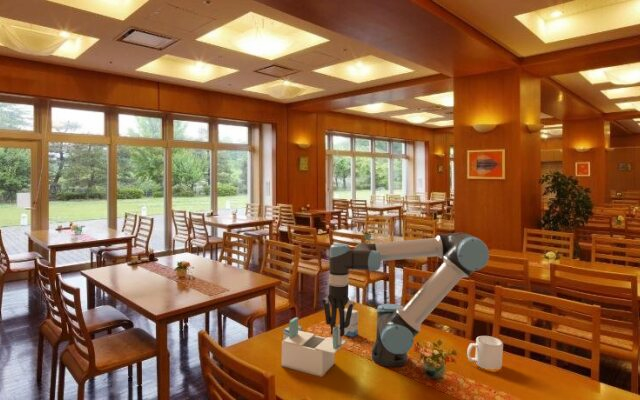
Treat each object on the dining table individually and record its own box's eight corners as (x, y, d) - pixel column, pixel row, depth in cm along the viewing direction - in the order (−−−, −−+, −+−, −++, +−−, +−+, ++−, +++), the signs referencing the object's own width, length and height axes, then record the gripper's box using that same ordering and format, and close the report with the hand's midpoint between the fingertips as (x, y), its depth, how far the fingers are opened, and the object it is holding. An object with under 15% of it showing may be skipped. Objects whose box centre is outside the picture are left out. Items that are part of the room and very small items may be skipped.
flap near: (346, 342, 160) (346, 323, 159) (334, 354, 149) (334, 334, 148) (327, 338, 163) (328, 320, 163) (314, 349, 152) (315, 330, 152)
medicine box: (294, 342, 182) (295, 323, 182) (302, 345, 179) (302, 326, 179) (282, 347, 176) (283, 328, 175) (290, 350, 173) (290, 331, 173)
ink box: (358, 334, 193) (359, 310, 192) (353, 337, 189) (354, 313, 188) (343, 330, 197) (343, 306, 197) (338, 333, 193) (338, 309, 192)
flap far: (314, 335, 166) (315, 317, 165) (301, 346, 155) (301, 327, 154) (297, 331, 169) (297, 314, 169) (283, 342, 158) (283, 323, 158)
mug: (472, 371, 159) (473, 345, 158) (463, 359, 169) (464, 335, 168) (506, 372, 158) (507, 346, 158) (495, 360, 169) (496, 336, 168)
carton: (334, 363, 162) (334, 339, 162) (321, 376, 152) (322, 351, 151) (295, 354, 170) (296, 331, 169) (281, 366, 159) (281, 342, 159)
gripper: (359, 284, 153) (358, 343, 155) (325, 279, 160) (324, 336, 161) (352, 289, 147) (351, 350, 148) (317, 283, 153) (316, 343, 154)
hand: (337, 343), depth 155 cm, fingers closed on flap near, 1 cm apart
